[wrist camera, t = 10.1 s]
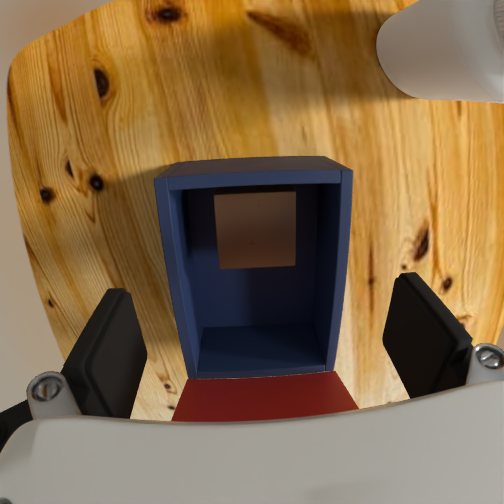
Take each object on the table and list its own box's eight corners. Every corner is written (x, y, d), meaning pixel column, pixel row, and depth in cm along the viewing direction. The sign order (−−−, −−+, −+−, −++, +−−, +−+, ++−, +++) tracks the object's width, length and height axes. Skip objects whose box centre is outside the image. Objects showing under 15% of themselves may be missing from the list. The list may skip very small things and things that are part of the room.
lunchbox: (176, 162, 24) (153, 178, 18) (325, 156, 24) (353, 170, 18) (197, 329, 30) (188, 379, 24) (317, 322, 30) (334, 371, 24)
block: (218, 179, 24) (213, 195, 19) (285, 176, 24) (296, 191, 19) (223, 241, 26) (219, 269, 21) (285, 238, 26) (295, 265, 21)
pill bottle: (357, 22, 20) (467, -47, 6) (430, 10, 18) (550, -30, 5) (393, 110, 23) (531, 124, 9) (461, 90, 22) (593, 100, 8)
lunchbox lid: (122, 545, 7) (128, 555, 7) (430, 521, 7) (424, 532, 7) (187, 378, 24) (188, 387, 24) (335, 370, 24) (335, 379, 24)
